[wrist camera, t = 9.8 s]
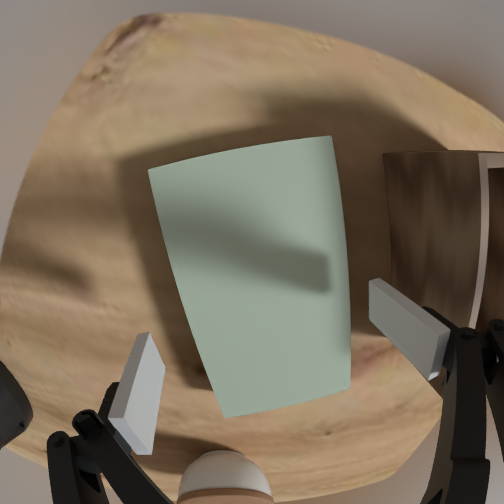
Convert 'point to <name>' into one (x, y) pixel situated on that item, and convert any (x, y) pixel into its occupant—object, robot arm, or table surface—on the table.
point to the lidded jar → (224, 480)
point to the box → (448, 234)
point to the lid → (261, 270)
